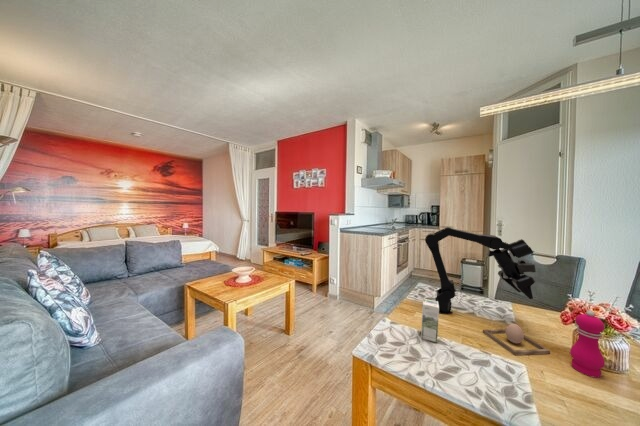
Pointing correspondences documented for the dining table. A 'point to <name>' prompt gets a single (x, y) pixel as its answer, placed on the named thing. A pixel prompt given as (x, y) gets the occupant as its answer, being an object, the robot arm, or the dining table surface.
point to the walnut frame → (517, 352)
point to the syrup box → (430, 320)
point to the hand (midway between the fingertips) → (525, 295)
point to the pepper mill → (588, 345)
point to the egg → (514, 333)
